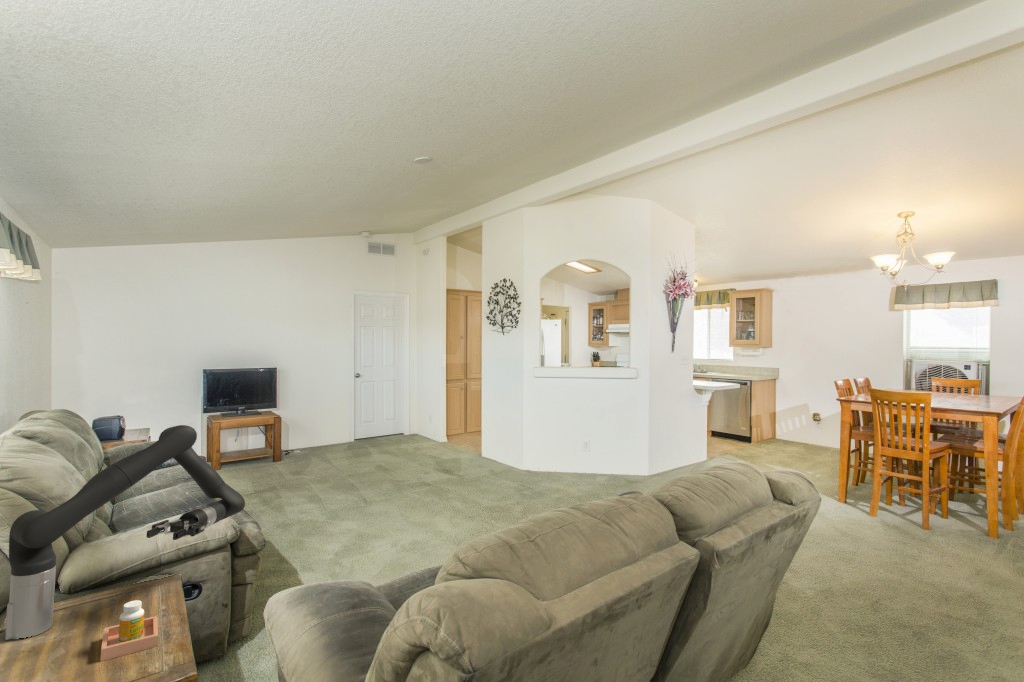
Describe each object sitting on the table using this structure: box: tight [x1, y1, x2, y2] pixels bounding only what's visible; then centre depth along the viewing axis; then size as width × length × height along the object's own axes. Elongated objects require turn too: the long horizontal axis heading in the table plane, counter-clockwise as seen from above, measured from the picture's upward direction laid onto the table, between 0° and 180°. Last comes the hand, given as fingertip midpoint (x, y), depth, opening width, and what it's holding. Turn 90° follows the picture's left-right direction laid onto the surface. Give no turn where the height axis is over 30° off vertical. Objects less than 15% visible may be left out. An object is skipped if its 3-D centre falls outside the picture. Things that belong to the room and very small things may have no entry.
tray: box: [100, 615, 159, 662], centre depth 136 cm, size 12×12×3 cm
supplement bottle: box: [118, 599, 145, 643], centre depth 136 cm, size 5×5×10 cm
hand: (160, 535), depth 151 cm, fingers open, 8 cm apart
